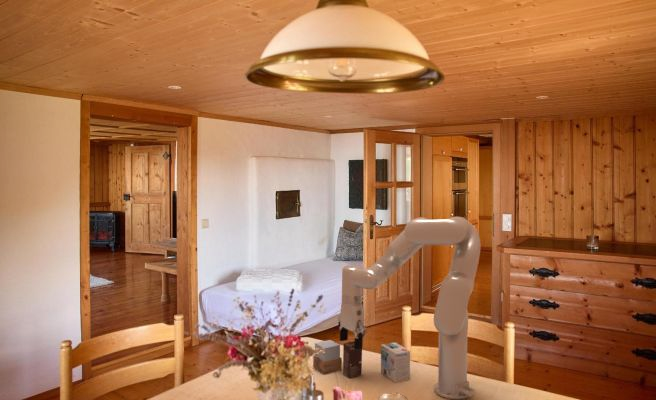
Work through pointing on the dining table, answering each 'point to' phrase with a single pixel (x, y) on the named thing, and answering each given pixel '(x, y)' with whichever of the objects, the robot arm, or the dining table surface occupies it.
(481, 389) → the dining table surface
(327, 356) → the tower top
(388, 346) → the light bulb box
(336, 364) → the tower base
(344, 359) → the box
